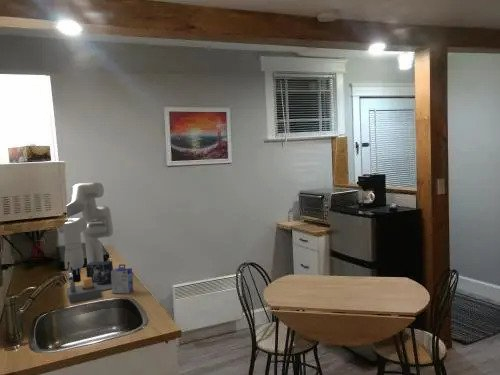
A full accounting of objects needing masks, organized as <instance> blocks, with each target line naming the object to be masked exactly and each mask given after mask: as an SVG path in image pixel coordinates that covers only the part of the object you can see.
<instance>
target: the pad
mask: <svg viewBox="0 0 500 375" xmlns="http://www.w3.org/2000/svg"><path fill="white" fill-rule="evenodd" d="M98 286H99V288H100V290H101V292H104V291H110V290H112V283H111V284H106V285H98Z"/></svg>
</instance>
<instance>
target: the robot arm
mask: <svg viewBox="0 0 500 375" xmlns="http://www.w3.org/2000/svg"><path fill="white" fill-rule="evenodd" d="M104 193H105V189H104V186H103V183H101V182H82V183H76V184H74V185H73V186H71V194H70V199H69V203H68V204H67V205H66V206H67V214H66V215H67V217H68V218H67V219H68V221H67V222H65V223H64V224H63V227H62V228H57V227H56V231H57V232H58V234H61V235H62V234H63V237H64V238H63V239H64V245H65V246H64V247H65V248H64V249H65V250H64V269H65V270H66V271H68V272H67V273H72V275H73V282H75V283H80V282H81V281H82V279H81V273H82V271H81V270H82V268H83V266H84V265H85V256H84V250H83V247H82V246H83V245H82V244H83V243H82V236H81V233H82V234H83V238H84V243H85V244H84V245H85V252H86V254H85V255H86V262H87V263H86V265H87V264H88V263H90V262H101V261H104V252H103V251H104V250H103V244H102V242H101V241H100V240H99V239H100V238H101V239H102V238H109V237H110V238H111V237H112V236H113V233H114V229H113V227H114V226H113V220H112V215H111V209H110V208H109V206H107V205H97V202H96V198H97V199H98V198H99V199H100V198H103V196H104ZM79 213H82V217H72V216H74V215H75V216H76V215H77V214H79ZM85 276H86V277H87V271H86V272H85Z"/></svg>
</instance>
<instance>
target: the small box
mask: <svg viewBox="0 0 500 375" xmlns="http://www.w3.org/2000/svg"><path fill="white" fill-rule="evenodd" d="M85 266H86V267H85V268H86V269H85V270H86V272H87V276H86V278H87V277H92V283H97V285H98V286H101V285H106V284H111V283H112V279H111V271H112V270H114V268H113V266H114V265H113V260H107V261H105V260H103V261H101V262H90V263H88V264H87V263H86V265H85Z"/></svg>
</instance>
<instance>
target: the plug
mask: <svg viewBox="0 0 500 375" xmlns="http://www.w3.org/2000/svg"><path fill="white" fill-rule="evenodd" d="M82 282H83V284H82V285H84V286H83V288H84V290H87V289H92V288H93V284H92V277H87V276H86V277H84V278H82Z"/></svg>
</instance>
